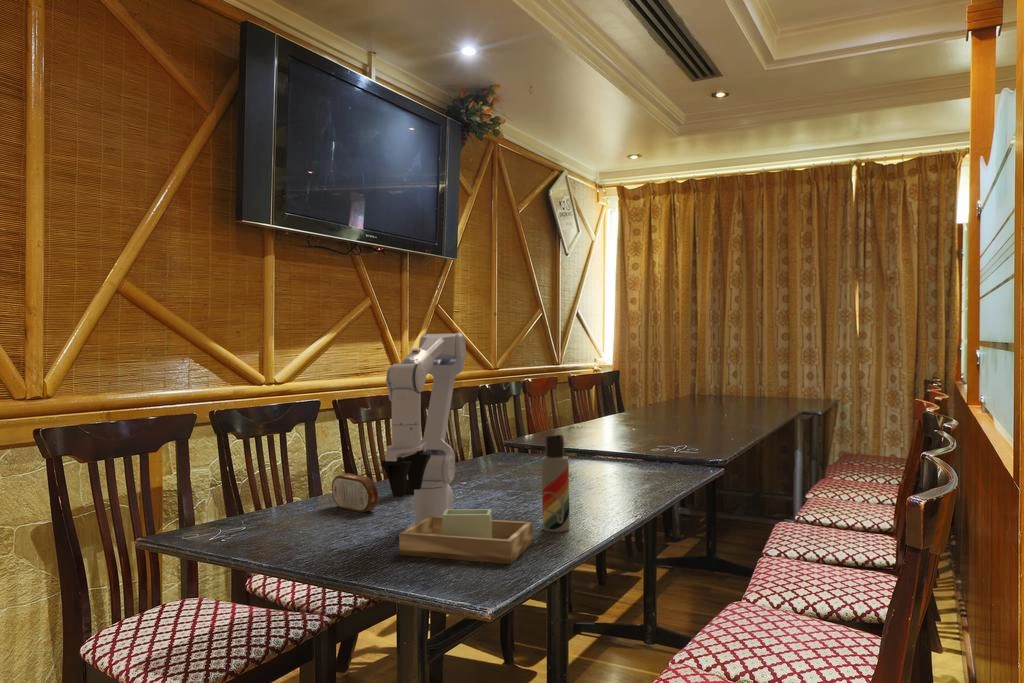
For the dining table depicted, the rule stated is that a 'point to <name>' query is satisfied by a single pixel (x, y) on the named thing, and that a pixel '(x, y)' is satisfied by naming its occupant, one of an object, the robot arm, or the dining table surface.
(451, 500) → the robot arm
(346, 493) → the tin
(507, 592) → the dining table surface
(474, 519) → the small crate
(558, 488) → the lotion bottle
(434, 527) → the pine crate
